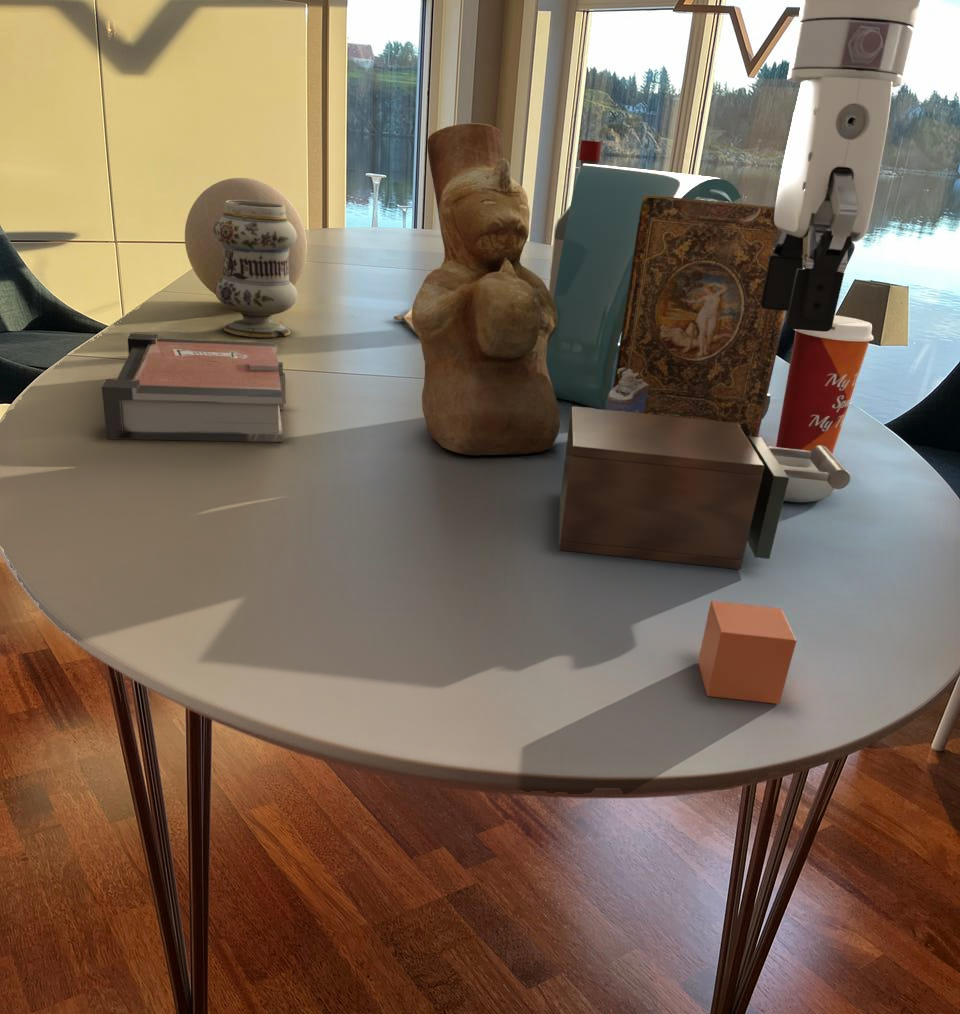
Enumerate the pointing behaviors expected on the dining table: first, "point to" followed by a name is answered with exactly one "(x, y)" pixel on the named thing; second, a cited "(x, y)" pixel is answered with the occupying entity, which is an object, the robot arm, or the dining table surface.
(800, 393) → the coffee cup
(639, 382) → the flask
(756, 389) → the book
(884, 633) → the dining table surface
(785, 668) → the block
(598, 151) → the liquor
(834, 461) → the drawer
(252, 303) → the apothecary jar
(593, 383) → the curved teal holder
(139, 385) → the book
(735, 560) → the cabinet
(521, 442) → the ceramic vessel
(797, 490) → the donut
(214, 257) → the decorative sphere
